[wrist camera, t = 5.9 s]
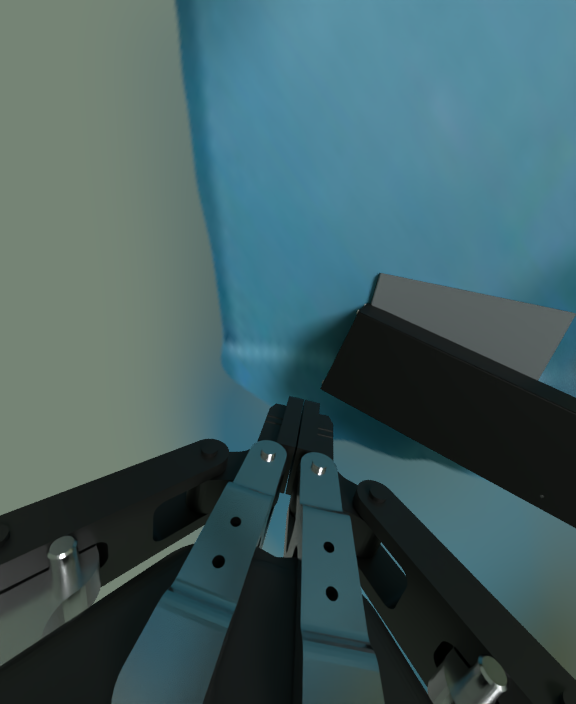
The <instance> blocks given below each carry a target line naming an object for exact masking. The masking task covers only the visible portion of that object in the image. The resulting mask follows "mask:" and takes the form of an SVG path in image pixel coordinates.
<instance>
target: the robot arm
mask: <svg viewBox="0 0 576 704" xmlns="http://www.w3.org/2000/svg"><path fill="white" fill-rule="evenodd" d="M303 402H304V399H300V398H295V397H291V396H289V399H288V403H287V406H285V405H281V404H275V405H274V406H272V407H271V408H270V409H269V412H268V415H267V417H266V420H265V423H264V425H263V428H262V431H261V434H260V436H259V439H258V442H257V443H254V444H253V445H252V447H251V449H249V450H247V451H242V452H229V449H228V447H227V446H226V445H225V444H224V443H223V442H221V441H219V440H215V439H204V440H200V441H197V442H195V443H192V444H190V445H187V446H184V447H182V448H179V449H176V450H174V451H171V452H168V453H165V454H163V455H160V456H158V457H155V458H152V459H150V460H147V461H144V462H142V463H139V464H136V465H134V466H131V467H128V468H126V469H123V470H120V471H118V472H115V473H112V474H110V475H107V476H105V477H102V478H99V479H97V480H94V481H91V482H88V483H86V484H83V485H80V486H78V487H75V488H72V489H70V490H67V491H65V492H62V493H59V494H56V495H54V496H51V497H48V498H46V499H43V500H40V501H38V502H35V503H33V504H30V505H27V506H24V507H22V508H19V509H16V510H14V511H11V512H9V513H6V514H3V515H1V516H0V704H576V680H575V679H574V678H573V677H572V676H571V675H570V674H569V673H568V672H567V671H566V670H565V669H564V668H563V667H562V666H561V665H560V664H559V663H558V662H557V661H556V660H555V659H554V658H553V657H552V656H551V655H550V654H549V653H548V652H547V650H546V649H545V648H544V647H542V645H541V644H540V643H539V642H538V641H537V640H536V639H535V638H534V637H533V636H532V635H531V634H530V633H529V632H528V631H527V630H526V629H525V628H524V627H523V626H522V625H521V624H520V623H519V622H518V621H517V620H516V619H515V618H514V617H513V616H512V615H511V614H510V612H508V610H507V609H505V607H504V606H503V605H502V604H501V603H500V602H499V601H498V600H497V599H496V598H495V597H494V596H493V595H492V594H491V593H490V592H489V591H488V590H487V589H486V588H485V587H484V586H483V585H482V584H481V583H480V582H479V581H478V580H477V579H476V578H475V577H474V576H473V575H472V574H471V573H470V571H469V570H468V569H467V568H466V567H465V566H464V565H463V564H462V563H461V562H460V561H459V560H458V559H457V558H456V557H455V556H454V555H453V554H452V553H451V552H450V551H449V550H448V549H447V548H446V547H445V546H444V545H443V544H442V543H441V542H440V541H439V540H438V539H437V538H436V537H435V536H434V535H433V534H432V533H431V532H430V531H429V529H427V527H426V526H425V525H424V524H423V523H422V522H421V521H420V520H419V519H418V518H417V517H416V516H415V515H414V514H413V513H412V512H411V511H410V510H409V509H408V508H407V507H406V506H405V505H404V504H403V503H402V502H401V501H400V500H399V499H398V498H397V497H396V496H395V495H394V494H393V493H392V492H391V491H390V490H389V489H388V488H387V487H386V486H385V485H383V484H381V483H379V482H376V481H372V480H365V481H362V482H360V483H359V485H356V484H354V483H353V482H351V481H349V480H347V479H345V478H344V477H343V476H342V475H341V474H340V473H339V472H338V471H337V466H336V464H335V463H334V461H333V423H332V421H331V419H330V418H329V416H326V415H322V414H319V410H320V403H316V402H312V401H308V400H305V402H304V406H303ZM302 408H303V410H302ZM289 471H290V472H289ZM288 475H289V478H288ZM287 479H288V483H287ZM286 483H287V489H286V494H288V495H291V498H290V504H289V507H288V511H287V519H286V533H285V545H284V557H274V556H273V555H271V554H269V553H268V552H266V551H264V550H262V546H263V543H264V540H265V537H266V533H267V530H268V527H269V523H270V520H271V517H272V514H273V511H274V506H275V505H276V503H277V501H278V498H279V493H284V491H285V487H286ZM203 525H204V527H203V529H202V531H201V533H200V535H199V537H198V538H197V540H196V542H195V544H191V545H188V546H185V547H182V548H180V549H178V550H176V551H174V552H172V553H170V554H169V555H167V556H166V557H164V558H163V559H161V560H160V561H158V562H157V563H155V564H154V565H152V566H151V567H149V568H148V569H146V570H145V571H143V572H142V573H140V574H139V575H137V576H136V577H134V578H132V579H131V580H129V581H128V582H127V583H125V584H123V585H122V586H120V587H119V588H117V589H116V590H115V591H113V592H112V593H110V594H108V595H107V596H105V597H104V598H102V599H101V600H99V601H98V602H96V603H95V604H93V603H94V601H95V600H96V598H97V596H98V594H99V591H100V587H102V586H104V585H105V584H107V583H109V582H110V581H112V580H114V579H115V578H117V577H119V576H120V575H122V574H124V573H125V572H127V571H129V570H130V569H132V568H134V567H135V566H137V565H139V564H140V563H142V562H143V561H145V560H147V559H149V558H150V557H152V556H153V555H155V554H157V553H159V552H160V551H162V550H164V549H165V548H167V547H169V546H170V545H172V544H174V543H175V542H177V541H179V540H180V539H182V538H183V537H185V536H187V535H189V534H190V533H192V532H193V531H195V530H197V529H198V528H200V527H202V526H203ZM381 542H382V544H383V545H384V546H385V547H386V549H387V550H388V551H389V552H390V553H391V555H392V556H393V557H394V558H395V560H396V561H397V562H398V563H399V565H400V566H401V567H402V569H403V570H404V572H405V574H406V576H405V574H404V573H403V572H402V571H401V570H400V568H399V567H398V566H397V564H396V563H395V562H394V561H393V559H392V558H391V557H390V556H389V554H388V553H387V552H386V551H385V549H384V548H383V547H382V546H381V544H380V543H381ZM361 587H362V589H363V590H364V592H365V593H366V595H367V596H368V598H369V600H370V601H371V602H372V604H373V605H374V607H375V609H376V610H377V612H378V613H379V615H380V616H381V618H382V619H383V621H384V622H385V624H386V625H387V627H388V628H389V630H390V631H391V633H392V634H393V636H394V637H395V639H396V640H397V642H398V644H399V645H400V647H401V648H402V650H403V651H404V653H405V654H406V655H407V657H408V659H409V660H410V662H411V663H412V665H413V666H414V668H415V669H416V671H417V672H418V674H419V675H420V677H421V678H422V680H423V681H424V683H425V684H426V686H427V687H428V694H427V692H426V691H425V689H424V688H423V686H422V684H421V683H420V681H419V680H418V678H417V677H416V675H415V674H414V672H413V670H412V668H411V667H410V665H409V664H408V662H407V660H406V659H405V657H404V655H403V654H402V652H401V651H400V649H399V647H398V646H397V644H396V643H395V641H394V639H393V638H392V636H391V635H390V633H389V632H388V630H387V628H386V627H385V625H384V623H383V622H382V620H381V619H380V617H379V616H378V614H377V612H376V611H375V609H374V608H373V607H372V605H371V604H370V603H369V601H368V600H367V599H366V598H365V597H364V596H363V595H362V592H361ZM92 604H93V605H92Z"/></svg>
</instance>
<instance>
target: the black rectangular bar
mask: <svg viewBox="0 0 576 704" xmlns="http://www.w3.org/2000/svg"><path fill="white" fill-rule="evenodd" d="M356 314H357V315H356V316H357V317H356V319H355V321H354V323H353V325H352V327H351V329H350V331H349V333H348V335H347V337H346V339H345V341H344V343H343V345H342V347H341V349H340V351H339V353H338V355H337V357H336V359H335V361H334V363H333V365H332V367H331V369H330V371H329V373H328V375H327V377H326V378H325V380H323V382H322V387H321V388H320V389H321V390H323V391H325V392H327V393H329V394H331V395H332V396H334V397H336V398H338V399H340V400H342V401H343V402H345V403H347V404H349V405H351V406H353V407H354V408H356V409H358V410H360V411H362V412H364V413H365V414H367V415H369V416H371V417H373V418H375V419H376V420H378V421H380V422H382V423H384V424H386V425H387V426H389V427H391V428H393V429H395V430H397V431H398V432H400V433H402V434H404V435H406V436H408V437H409V438H411V439H413V440H415V441H417V442H419V443H420V444H422V445H424V446H426V447H428V448H430V449H431V450H433V451H435V452H437V453H439V454H441V455H443V456H444V457H446V458H448V459H450V460H452V461H454V462H455V463H457V464H459V465H461V466H463V467H465V468H466V469H468V470H470V471H472V472H474V473H476V474H477V475H479V476H481V477H483V478H485V479H487V480H488V481H490V482H492V483H494V484H496V485H498V486H499V487H501V488H503V489H505V490H507V491H509V492H510V493H512V494H514V495H516V496H518V497H520V498H522V499H523V500H525V501H527V502H529V503H531V504H533V505H534V506H536V507H538V508H540V509H542V510H543V511H545V512H547V513H549V514H551V515H553V516H554V517H556V518H558V519H560V520H562V521H564V522H566V523H567V524H569V525H571V526H573V527H575V528H576V398H575V397H573V396H571V395H568V394H566V393H564V392H562V391H560V390H557V389H555V388H553V387H551V386H549V385H546V384H544V383H542V382H540V381H538V380H536V379H533V378H531V377H529V376H527V375H525V374H522V373H520V372H518V371H516V370H514V369H511V368H509V367H507V366H505V365H503V364H501V363H498V362H496V361H494V360H492V359H490V358H487V357H485V356H483V355H481V354H479V353H476V352H474V351H472V350H470V349H468V348H466V347H463V346H461V345H459V344H457V343H455V342H452V341H450V340H448V339H446V338H444V337H441V336H439V335H437V334H435V333H433V332H431V331H428V330H426V329H424V328H422V327H420V326H417V325H415V324H413V323H411V322H409V321H406V320H404V319H402V318H400V317H398V316H396V315H393V314H391V313H389V312H387V311H384V310H382V309H380V308H377V307H375V306H373V305H371V304H369V303H368V304H365V305H364V306H363V307H362V308H361V309H360V310H358V311H357V313H356Z"/></svg>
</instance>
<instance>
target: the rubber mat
mask: <svg viewBox="0 0 576 704" xmlns="http://www.w3.org/2000/svg"><path fill="white" fill-rule="evenodd" d="M371 305H373V306H375V307H377V308H380V309H382V310H384V311H387V312H389V313H391V314H393V315H396V316H398V317H400V318H402V319H404V320H406V321H409V322H411V323H413V324H415V325H417V326H420V327H422V328H424V329H426V330H428V331H431V332H433V333H435V334H437V335H439V336H441V337H444V338H446V339H448V340H450V341H452V342H455V343H457V344H459V345H461V346H463V347H466V348H468V349H470V350H472V351H474V352H476V353H479V354H481V355H483V356H485V357H487V358H490V359H492V360H494V361H496V362H498V363H501V364H503V365H505V366H507V367H509V368H511V369H514V370H516V371H518V372H520V373H522V374H525V375H527V376H529V377H531V378H533V379H536V380H538V379H539V378H540V376H541V374H542V372H543V371H544V369H545V367H546V365H547V364H548V362H549V360H550V359H551V357H552V355H553V353H554V352H555V350H556V348H557V346H558V345H559V343H560V341H561V339H562V338H563V336H564V334H565V332H566V331H567V329H568V327H569V325H570V324H571V322H572V320H573V318H574V317H575V315H576V314H575V313H572V312H567V311H562V310H557V309H552V308H548V307H543V306H538V305H533V304H528V303H523V302H519V301H514V300H509V299H504V298H499V297H494V296H489V295H485V294H480V293H475V292H470V291H465V290H460V289H456V288H451V287H446V286H441V285H436V284H431V283H427V282H422V281H417V280H412V279H407V278H402V277H397V276H393V275H388V274H383V273H380V274H379V278H378V281H377V285H376V288H375V291H374V295H373V298H372V301H371Z"/></svg>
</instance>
